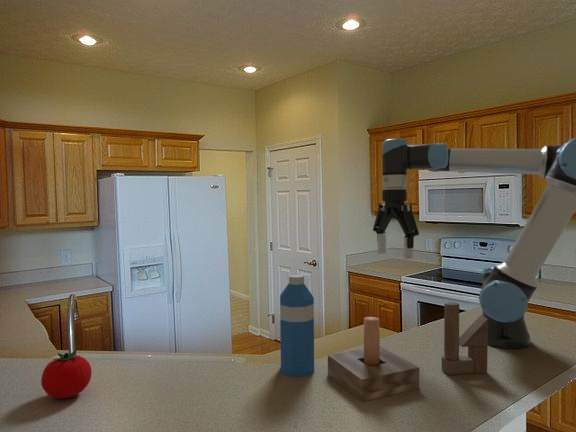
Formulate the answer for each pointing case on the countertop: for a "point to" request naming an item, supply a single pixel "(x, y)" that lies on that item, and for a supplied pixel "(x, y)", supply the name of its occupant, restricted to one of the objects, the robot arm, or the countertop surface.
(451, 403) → the countertop surface
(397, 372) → the socket block
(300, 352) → the water bottle
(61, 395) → the tomato
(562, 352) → the countertop surface
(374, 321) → the pin
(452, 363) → the wooden block structure
